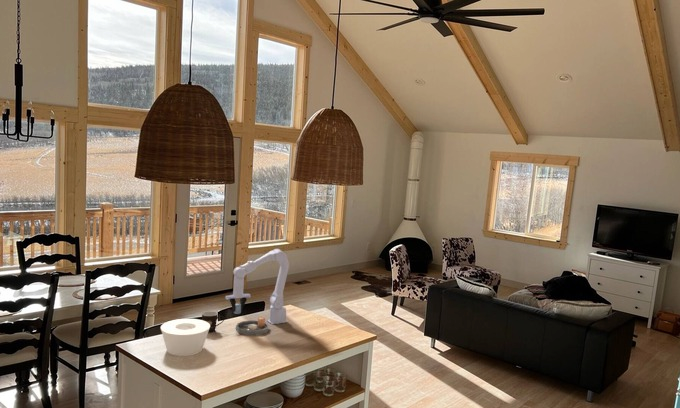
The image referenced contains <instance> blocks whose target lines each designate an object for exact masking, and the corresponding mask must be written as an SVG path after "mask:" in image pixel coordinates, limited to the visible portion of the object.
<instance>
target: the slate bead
mask: <svg viewBox="0 0 680 408" xmlns="http://www.w3.org/2000/svg"><path fill="white" fill-rule="evenodd" d="M241 313H242V311H241V304H240V303H236V304H235V311H233V314H235V315H240V314H241Z"/></svg>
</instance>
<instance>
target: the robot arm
mask: <svg viewBox="0 0 680 408" xmlns="http://www.w3.org/2000/svg"><path fill="white" fill-rule="evenodd" d="M269 261H271V262H275V261H277V264H279V270H278V275H277V278H276V283H275V287H274V291H273V292H272V294H271V296H270V297H269V303H270V304H271V305H270V306H269V307H270V308H269V309H270V310H269V319H267V320H266V321H267V322H268V323H270V324H271V325H278V324H279V325H280V324H284V323H287V309H286V307H285V306H284V289H285V286H286V285H285V284H286V282H287V276H288V272H289V269H290V262H289V260H288V255H287V254H286V253H285V252H284V251H282V250H281V249H280V248H274V249H273V250H270V251H268V252H267V253H266V254H264V255H262V256H261V257H259V258H257V259H256V260H248V261H247V262H246V263H244V264H241V265H239V266H236V267H235V268H234V269H233V270H232V273H233V276H234V277H233V288H232V289H233V291H232V294H230V295H225V300H227V301H229V302H230V305H231V309H232V312H234V311H235V304H237V303H236V302H237V301H236V299H237V300H238V299H239V304H241V312H242V311H243V310H244V306H245V305H246V302H247V300H248V299H247V298H249V299H251V293H244V288H245V287H244V286H245V285H244V284H245V281H244V280H245V279H244V278H245V276H246V275H247V274H250V273H251V272H253V271H255V270H256V269H257V267H259V266H260V265H263V264H264V263H267V262H269Z"/></svg>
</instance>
